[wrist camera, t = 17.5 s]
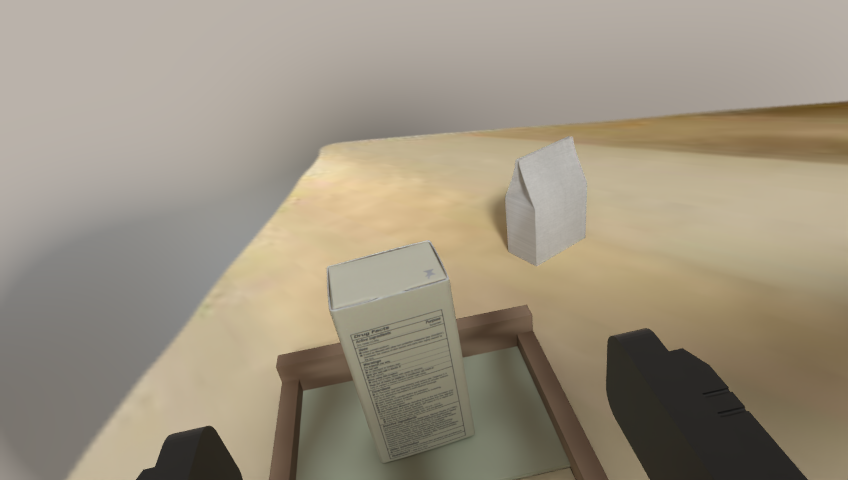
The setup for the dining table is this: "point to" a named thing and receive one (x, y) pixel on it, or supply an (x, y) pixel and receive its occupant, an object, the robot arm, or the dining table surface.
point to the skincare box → (402, 348)
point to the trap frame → (452, 463)
